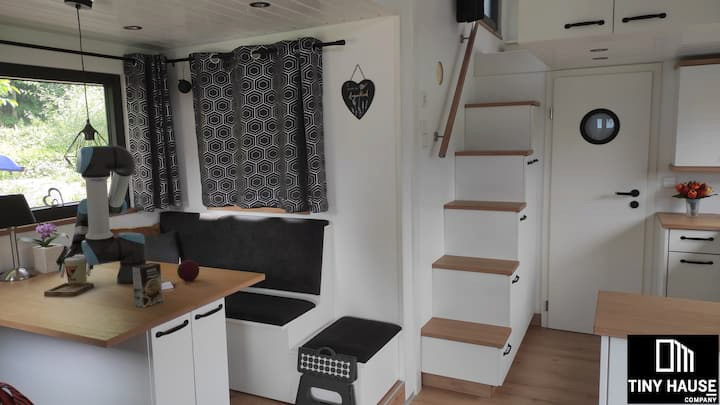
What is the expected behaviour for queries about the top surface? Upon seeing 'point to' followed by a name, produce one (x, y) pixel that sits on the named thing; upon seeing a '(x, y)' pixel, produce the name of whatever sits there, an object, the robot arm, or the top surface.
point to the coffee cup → (76, 269)
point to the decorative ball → (188, 270)
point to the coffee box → (147, 284)
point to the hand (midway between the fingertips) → (75, 275)
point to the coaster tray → (69, 289)
